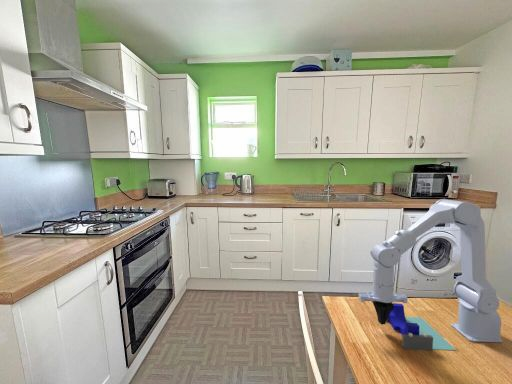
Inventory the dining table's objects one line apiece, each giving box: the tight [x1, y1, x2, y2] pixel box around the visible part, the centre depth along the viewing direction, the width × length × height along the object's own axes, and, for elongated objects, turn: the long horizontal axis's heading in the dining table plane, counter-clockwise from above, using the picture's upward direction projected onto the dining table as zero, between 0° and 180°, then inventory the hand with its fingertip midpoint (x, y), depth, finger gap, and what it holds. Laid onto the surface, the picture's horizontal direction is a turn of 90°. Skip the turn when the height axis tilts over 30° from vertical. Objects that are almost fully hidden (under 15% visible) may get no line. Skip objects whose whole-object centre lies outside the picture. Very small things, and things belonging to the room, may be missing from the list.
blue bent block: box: [387, 302, 419, 336], centre depth 73 cm, size 12×4×6 cm, turn 168°
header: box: [401, 333, 434, 352], centre depth 73 cm, size 8×16×5 cm, turn 177°
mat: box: [405, 316, 457, 351], centre depth 73 cm, size 8×15×1 cm, turn 177°
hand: (381, 322), depth 74 cm, fingers closed
